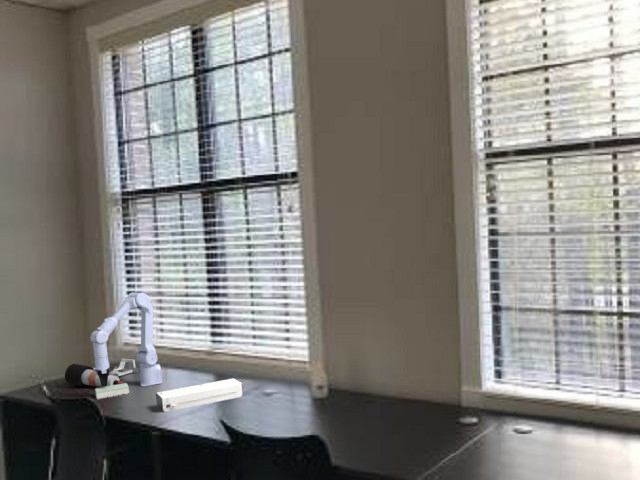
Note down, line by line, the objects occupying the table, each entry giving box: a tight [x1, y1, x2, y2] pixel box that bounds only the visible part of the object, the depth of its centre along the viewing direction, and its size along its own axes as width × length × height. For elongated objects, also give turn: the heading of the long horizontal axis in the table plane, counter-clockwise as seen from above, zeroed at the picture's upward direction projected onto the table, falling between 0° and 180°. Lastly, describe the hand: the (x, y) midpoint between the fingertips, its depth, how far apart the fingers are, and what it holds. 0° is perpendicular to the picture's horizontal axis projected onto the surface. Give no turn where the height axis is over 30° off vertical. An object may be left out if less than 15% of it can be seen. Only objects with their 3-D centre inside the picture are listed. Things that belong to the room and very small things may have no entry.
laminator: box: [155, 378, 244, 413], centre depth 293 cm, size 34×12×6 cm, turn 115°
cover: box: [94, 382, 130, 395], centre depth 318 cm, size 14×7×1 cm, turn 112°
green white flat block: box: [94, 388, 130, 400], centre depth 318 cm, size 14×7×2 cm, turn 112°
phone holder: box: [108, 358, 139, 378], centre depth 360 cm, size 18×10×12 cm
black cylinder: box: [64, 363, 125, 388], centre depth 337 cm, size 10×34×10 cm, turn 58°
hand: (104, 386), depth 318 cm, fingers closed
